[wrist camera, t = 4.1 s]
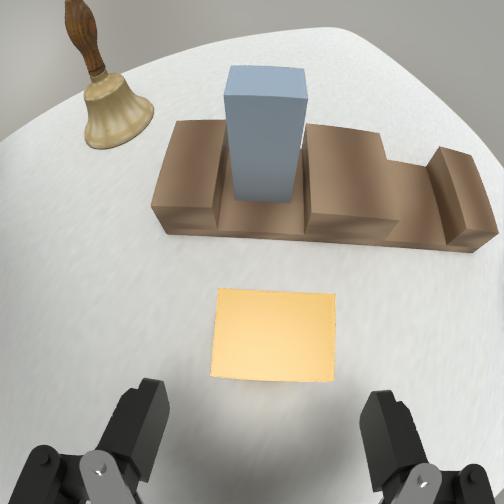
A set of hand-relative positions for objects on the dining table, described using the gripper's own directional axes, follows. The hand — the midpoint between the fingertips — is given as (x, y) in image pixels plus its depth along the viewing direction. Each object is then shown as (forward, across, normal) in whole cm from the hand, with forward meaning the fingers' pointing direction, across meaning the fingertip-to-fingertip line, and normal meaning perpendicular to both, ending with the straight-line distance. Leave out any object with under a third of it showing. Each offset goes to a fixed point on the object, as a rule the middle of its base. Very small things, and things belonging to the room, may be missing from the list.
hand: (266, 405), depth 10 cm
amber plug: (+7, 0, +4) cm, 8 cm away
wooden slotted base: (+16, -5, -5) cm, 17 cm away
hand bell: (+22, +17, -11) cm, 30 cm away
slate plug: (+15, +1, -6) cm, 16 cm away
